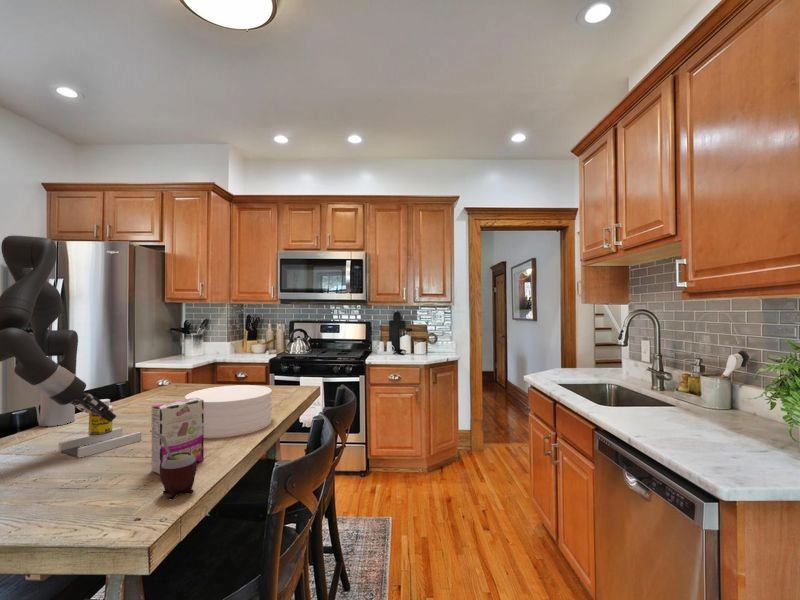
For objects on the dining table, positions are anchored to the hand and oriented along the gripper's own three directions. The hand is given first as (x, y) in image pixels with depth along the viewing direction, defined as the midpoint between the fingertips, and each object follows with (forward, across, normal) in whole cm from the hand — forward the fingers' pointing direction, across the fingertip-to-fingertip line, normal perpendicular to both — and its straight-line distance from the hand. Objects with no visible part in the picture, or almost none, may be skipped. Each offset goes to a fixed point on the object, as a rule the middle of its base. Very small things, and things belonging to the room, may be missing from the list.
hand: (107, 417), depth 115 cm
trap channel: (+5, 0, +6) cm, 8 cm away
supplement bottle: (+2, 0, +5) cm, 5 cm away
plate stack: (+27, -17, -16) cm, 36 cm away
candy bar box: (+5, -35, +6) cm, 36 cm away
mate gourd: (-2, -49, +13) cm, 51 cm away
